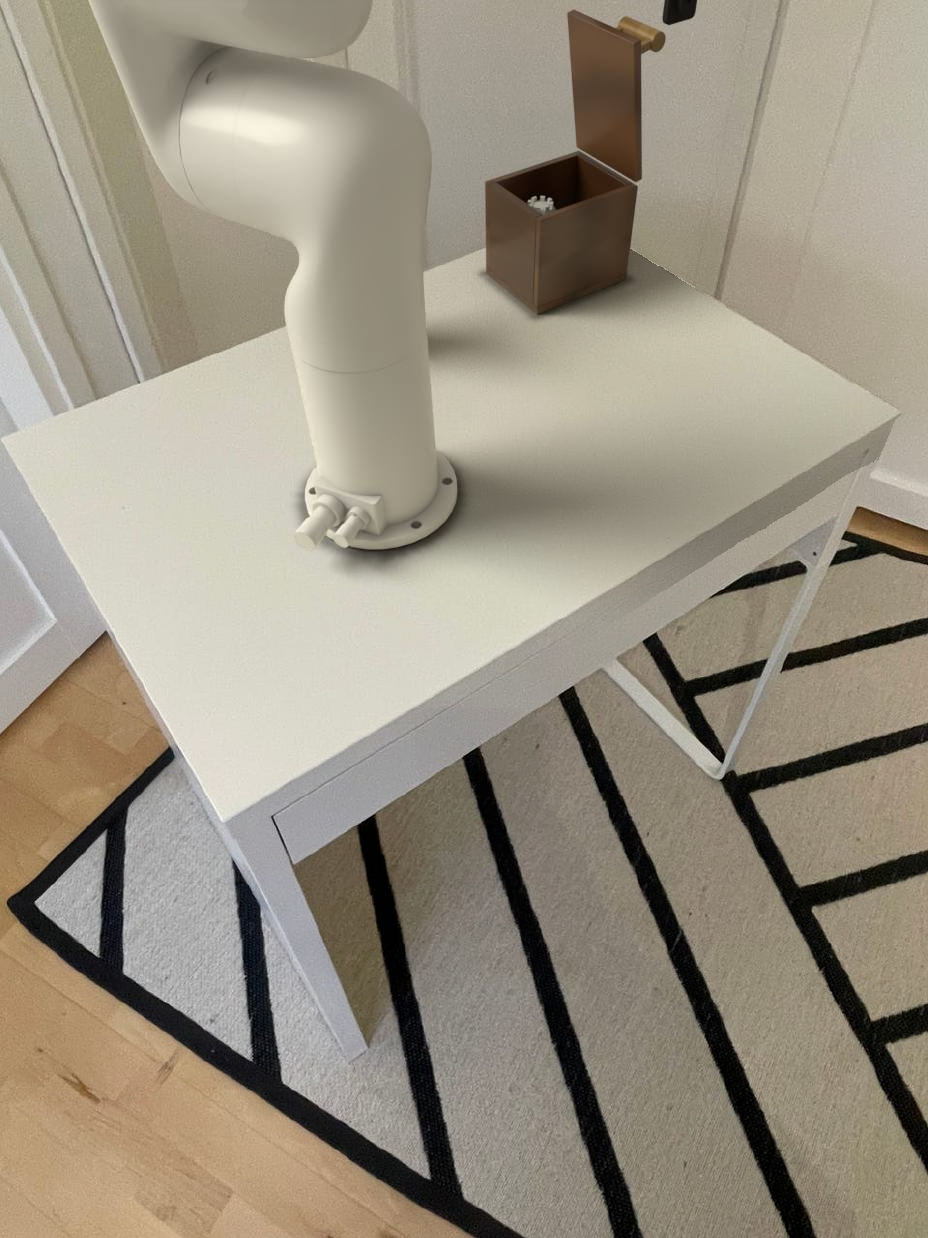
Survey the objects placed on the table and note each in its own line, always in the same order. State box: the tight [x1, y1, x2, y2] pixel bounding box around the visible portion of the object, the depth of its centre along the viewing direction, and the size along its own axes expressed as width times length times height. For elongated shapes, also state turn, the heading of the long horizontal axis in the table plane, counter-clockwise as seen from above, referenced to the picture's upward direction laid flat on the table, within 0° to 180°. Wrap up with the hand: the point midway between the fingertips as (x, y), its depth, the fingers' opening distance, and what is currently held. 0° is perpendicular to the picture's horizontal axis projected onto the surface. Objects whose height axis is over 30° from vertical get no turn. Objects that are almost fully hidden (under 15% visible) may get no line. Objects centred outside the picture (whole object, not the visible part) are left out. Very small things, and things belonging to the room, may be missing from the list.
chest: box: [484, 150, 639, 315], centre depth 88 cm, size 12×10×10 cm
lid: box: [566, 9, 667, 183], centre depth 81 cm, size 12×10×5 cm
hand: (641, 4), depth 76 cm, fingers open, 9 cm apart
